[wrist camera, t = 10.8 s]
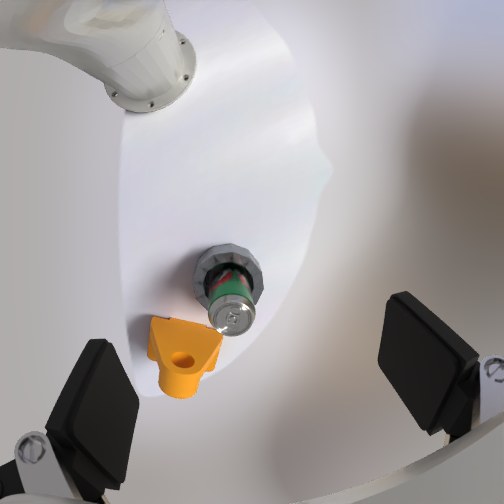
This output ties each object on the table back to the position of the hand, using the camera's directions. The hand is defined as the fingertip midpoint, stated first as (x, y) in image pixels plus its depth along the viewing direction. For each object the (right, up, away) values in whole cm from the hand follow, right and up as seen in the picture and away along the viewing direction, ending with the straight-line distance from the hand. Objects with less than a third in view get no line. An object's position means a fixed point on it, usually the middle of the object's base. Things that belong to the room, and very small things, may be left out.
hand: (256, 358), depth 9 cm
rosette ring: (-4, 0, +32) cm, 32 cm away
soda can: (-4, 0, +32) cm, 32 cm away
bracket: (-11, -10, +35) cm, 38 cm away
